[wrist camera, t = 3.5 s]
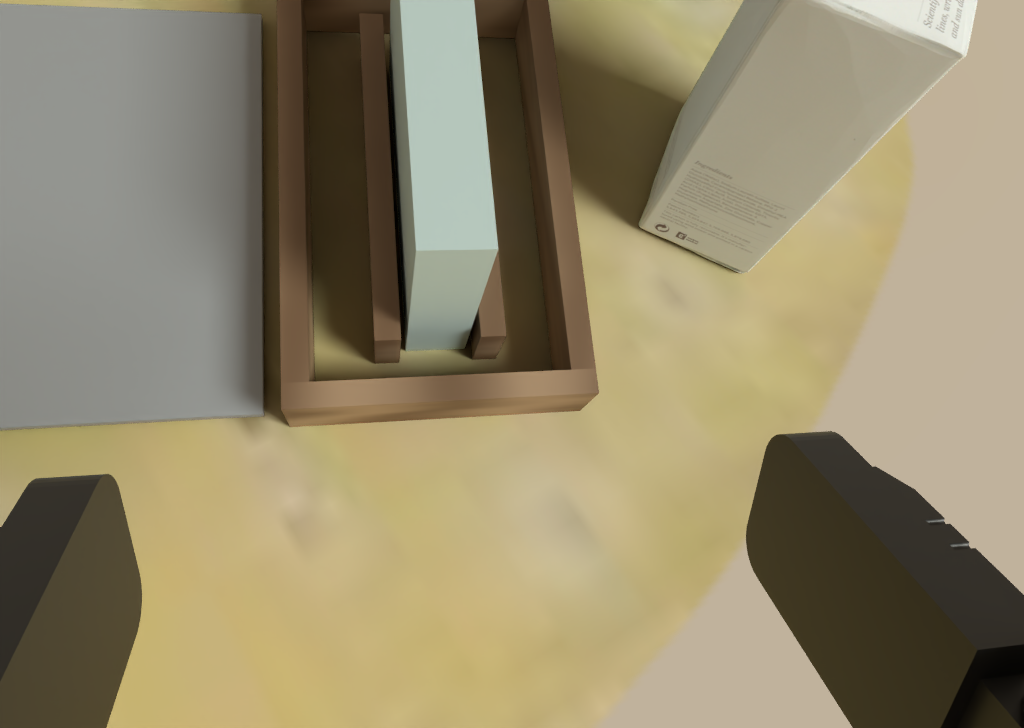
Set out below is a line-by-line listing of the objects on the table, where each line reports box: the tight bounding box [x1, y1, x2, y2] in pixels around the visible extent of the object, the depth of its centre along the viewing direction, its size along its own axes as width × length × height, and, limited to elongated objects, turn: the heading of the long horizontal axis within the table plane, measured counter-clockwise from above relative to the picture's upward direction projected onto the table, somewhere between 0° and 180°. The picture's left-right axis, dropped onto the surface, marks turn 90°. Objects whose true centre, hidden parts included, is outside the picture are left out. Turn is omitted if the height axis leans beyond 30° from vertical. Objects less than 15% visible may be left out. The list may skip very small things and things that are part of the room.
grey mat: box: [0, 4, 264, 430], centre depth 32 cm, size 12×19×1 cm, turn 6°
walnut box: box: [277, 0, 599, 427], centre depth 33 cm, size 12×20×3 cm, turn 6°
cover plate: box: [389, 0, 498, 351], centre depth 30 cm, size 2×14×10 cm, turn 6°
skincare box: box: [639, 0, 978, 273], centre depth 30 cm, size 8×6×15 cm
